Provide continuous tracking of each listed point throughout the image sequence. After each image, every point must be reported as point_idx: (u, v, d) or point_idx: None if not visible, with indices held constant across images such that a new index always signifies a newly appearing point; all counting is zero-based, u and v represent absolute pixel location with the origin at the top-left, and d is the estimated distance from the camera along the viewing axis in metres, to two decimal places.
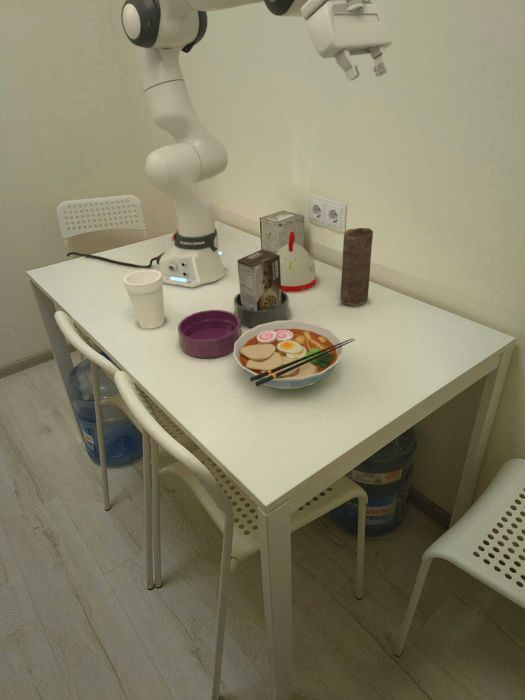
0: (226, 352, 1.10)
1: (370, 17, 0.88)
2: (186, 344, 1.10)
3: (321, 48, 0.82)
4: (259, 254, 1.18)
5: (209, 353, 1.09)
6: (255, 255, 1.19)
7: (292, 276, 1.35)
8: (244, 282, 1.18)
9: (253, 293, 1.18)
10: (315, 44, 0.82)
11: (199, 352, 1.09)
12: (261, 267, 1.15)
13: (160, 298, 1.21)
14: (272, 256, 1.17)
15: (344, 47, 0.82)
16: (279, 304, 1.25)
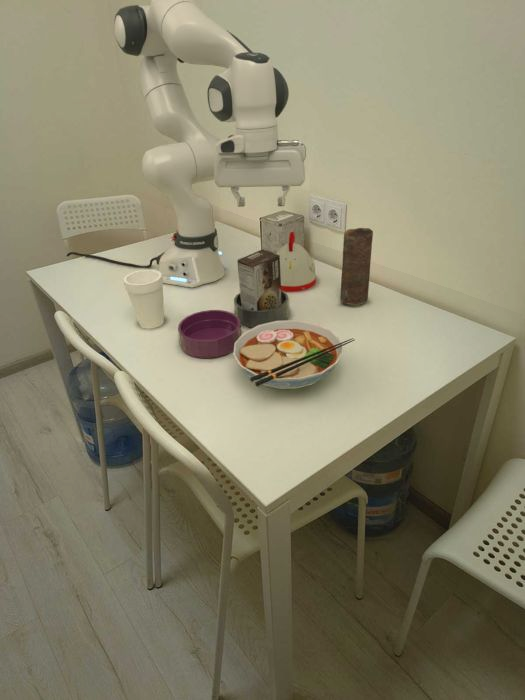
0: (226, 352, 1.10)
1: (278, 163, 1.03)
2: (186, 344, 1.10)
3: None
4: (259, 254, 1.18)
5: (209, 353, 1.09)
6: (255, 255, 1.19)
7: (292, 276, 1.35)
8: (244, 282, 1.18)
9: (253, 293, 1.18)
10: None
11: (199, 352, 1.09)
12: (261, 267, 1.15)
13: (160, 298, 1.21)
14: (272, 256, 1.17)
15: None
16: (279, 304, 1.25)
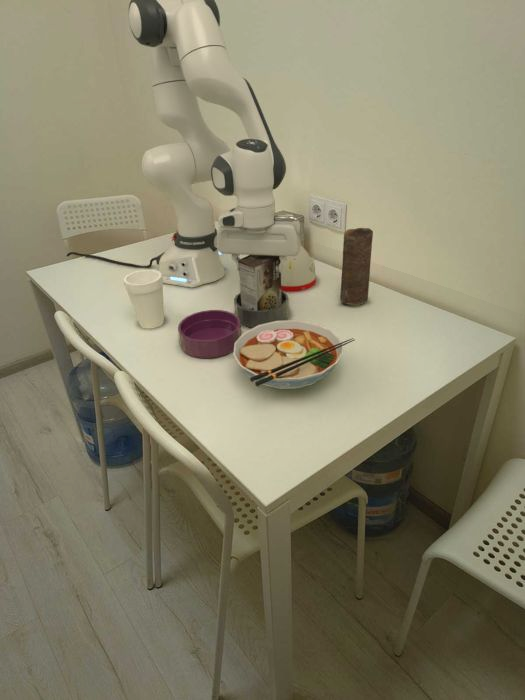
0: (226, 352, 1.10)
1: (274, 236, 1.12)
2: (186, 344, 1.10)
3: None
4: None
5: (209, 353, 1.09)
6: (256, 255, 1.18)
7: (292, 276, 1.35)
8: (244, 282, 1.18)
9: (253, 293, 1.18)
10: None
11: (199, 352, 1.09)
12: (261, 268, 1.15)
13: (160, 298, 1.21)
14: (273, 256, 1.17)
15: None
16: (279, 304, 1.25)
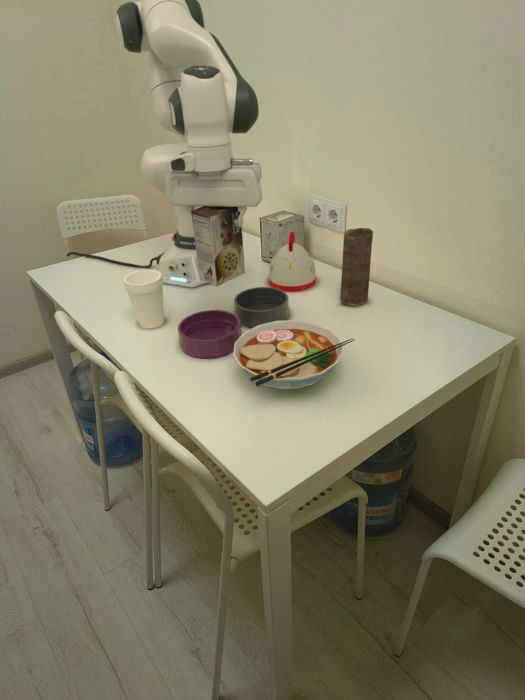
0: (226, 352, 1.10)
1: (231, 182, 0.97)
2: (186, 344, 1.10)
3: None
4: None
5: (209, 353, 1.09)
6: None
7: (292, 276, 1.35)
8: (199, 237, 1.03)
9: (210, 249, 1.03)
10: None
11: (199, 352, 1.09)
12: (218, 218, 1.00)
13: (160, 298, 1.21)
14: (231, 207, 1.02)
15: (182, 205, 1.02)
16: (241, 264, 1.10)
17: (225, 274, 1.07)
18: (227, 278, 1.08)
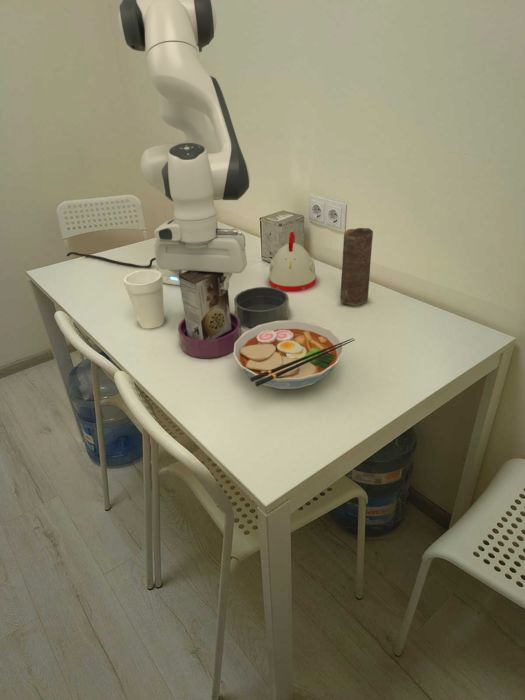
0: (226, 352, 1.10)
1: (217, 251, 1.01)
2: (186, 344, 1.10)
3: None
4: None
5: (209, 353, 1.09)
6: None
7: (292, 276, 1.35)
8: (187, 299, 1.07)
9: (196, 311, 1.06)
10: None
11: (199, 352, 1.09)
12: (204, 283, 1.03)
13: (160, 298, 1.21)
14: None
15: (170, 269, 1.06)
16: (228, 322, 1.14)
17: (211, 333, 1.11)
18: (214, 336, 1.12)
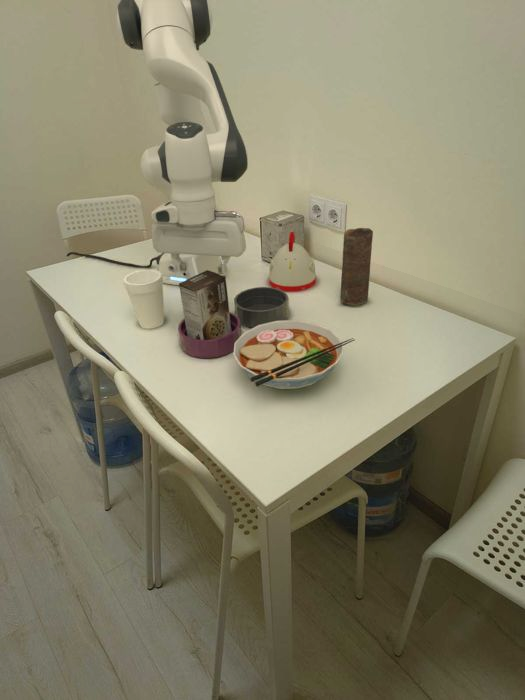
0: (226, 352, 1.10)
1: (215, 233, 0.99)
2: (186, 344, 1.10)
3: None
4: (203, 276, 1.08)
5: (209, 353, 1.09)
6: (199, 277, 1.08)
7: (292, 276, 1.35)
8: (187, 307, 1.08)
9: (198, 319, 1.08)
10: None
11: (199, 352, 1.09)
12: (204, 291, 1.05)
13: (160, 298, 1.21)
14: (217, 278, 1.08)
15: (167, 253, 1.04)
16: (228, 328, 1.15)
17: None
18: None
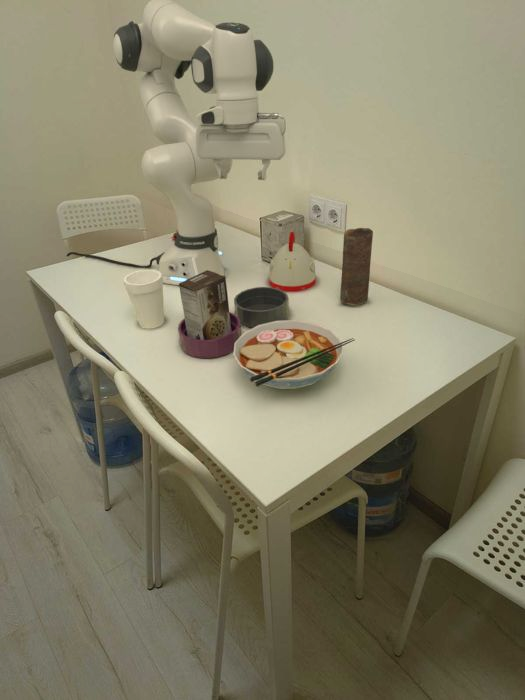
0: (226, 352, 1.10)
1: (257, 136, 1.04)
2: (186, 344, 1.10)
3: None
4: (203, 276, 1.08)
5: (209, 353, 1.09)
6: (199, 277, 1.08)
7: (292, 276, 1.35)
8: (187, 307, 1.08)
9: (198, 319, 1.08)
10: None
11: (199, 352, 1.09)
12: (204, 291, 1.05)
13: (160, 298, 1.21)
14: (217, 278, 1.08)
15: (209, 158, 1.09)
16: (228, 329, 1.15)
17: None
18: None
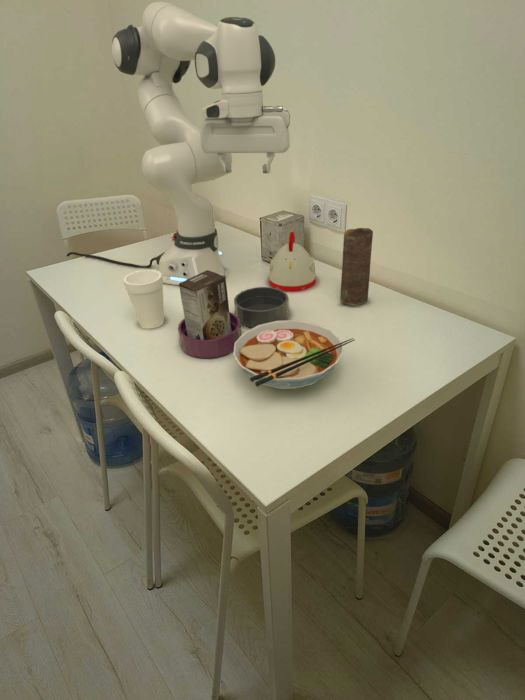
0: (226, 352, 1.10)
1: (262, 129, 1.05)
2: (186, 344, 1.10)
3: None
4: (203, 276, 1.08)
5: (209, 353, 1.09)
6: (199, 277, 1.08)
7: (292, 276, 1.35)
8: (187, 307, 1.08)
9: (198, 319, 1.08)
10: None
11: (199, 352, 1.09)
12: (204, 291, 1.05)
13: (160, 298, 1.21)
14: (217, 278, 1.08)
15: (214, 152, 1.10)
16: (228, 329, 1.15)
17: None
18: None
